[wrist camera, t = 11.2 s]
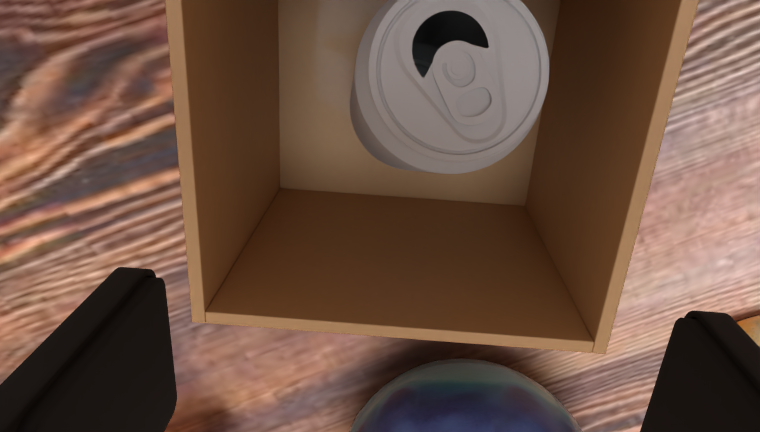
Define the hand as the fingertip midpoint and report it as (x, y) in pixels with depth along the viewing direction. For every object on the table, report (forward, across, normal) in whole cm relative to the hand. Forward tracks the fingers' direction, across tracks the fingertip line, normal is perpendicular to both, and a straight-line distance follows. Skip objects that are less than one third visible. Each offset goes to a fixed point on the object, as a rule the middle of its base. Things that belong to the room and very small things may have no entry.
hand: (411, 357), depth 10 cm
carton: (+22, 0, -1) cm, 22 cm away
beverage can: (+21, 0, 0) cm, 21 cm away
